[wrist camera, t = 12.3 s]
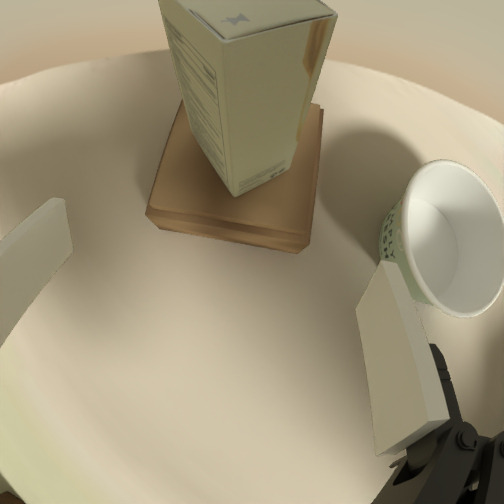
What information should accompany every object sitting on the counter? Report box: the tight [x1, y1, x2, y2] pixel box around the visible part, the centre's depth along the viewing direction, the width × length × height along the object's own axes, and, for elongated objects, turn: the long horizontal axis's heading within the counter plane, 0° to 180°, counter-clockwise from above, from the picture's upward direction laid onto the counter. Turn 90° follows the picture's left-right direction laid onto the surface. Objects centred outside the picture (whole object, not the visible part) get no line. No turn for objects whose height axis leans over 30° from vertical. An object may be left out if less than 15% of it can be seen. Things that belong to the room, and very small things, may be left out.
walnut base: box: [145, 99, 324, 254], centre depth 21 cm, size 11×11×5 cm
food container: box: [379, 159, 504, 318], centre depth 20 cm, size 12×12×6 cm
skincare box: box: [158, 0, 338, 197], centre depth 13 cm, size 6×4×12 cm
